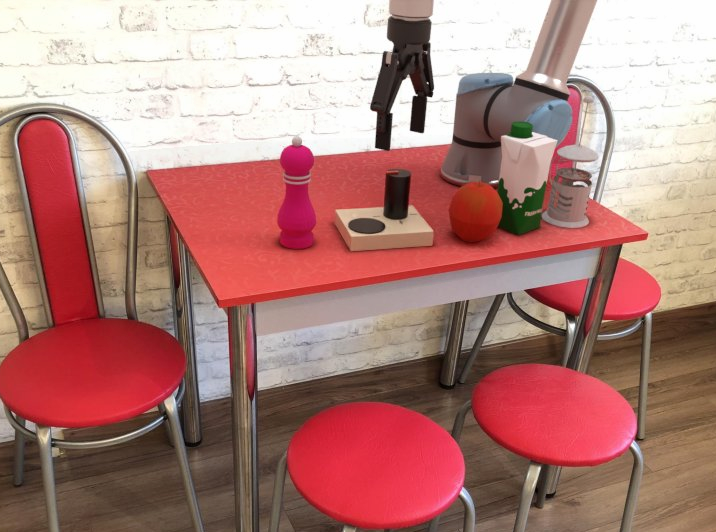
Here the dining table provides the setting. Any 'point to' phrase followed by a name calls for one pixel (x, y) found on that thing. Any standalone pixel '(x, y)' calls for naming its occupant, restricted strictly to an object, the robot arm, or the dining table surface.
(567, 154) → the french press
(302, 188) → the pepper mill
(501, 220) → the milk carton
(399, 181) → the hob knob
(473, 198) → the apple
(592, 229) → the dining table surface
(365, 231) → the burner
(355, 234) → the hob
